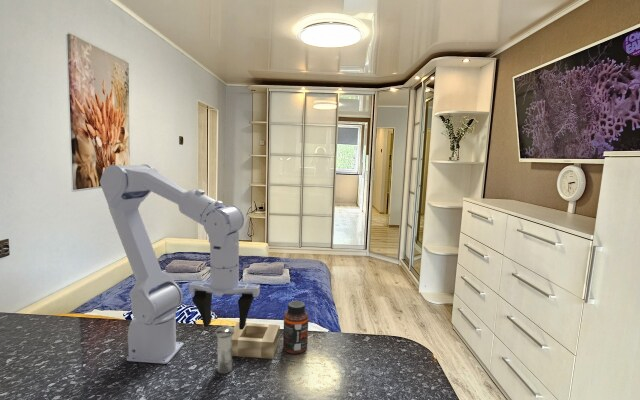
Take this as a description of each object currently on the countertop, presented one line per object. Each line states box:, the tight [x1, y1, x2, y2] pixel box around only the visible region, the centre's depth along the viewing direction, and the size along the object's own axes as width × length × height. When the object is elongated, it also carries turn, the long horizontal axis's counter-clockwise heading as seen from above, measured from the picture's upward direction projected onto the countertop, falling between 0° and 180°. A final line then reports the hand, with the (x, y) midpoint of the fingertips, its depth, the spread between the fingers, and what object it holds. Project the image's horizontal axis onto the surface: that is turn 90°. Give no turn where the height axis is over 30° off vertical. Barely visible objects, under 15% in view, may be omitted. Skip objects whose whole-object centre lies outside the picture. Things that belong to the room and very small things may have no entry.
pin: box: [215, 325, 234, 375], centre depth 72 cm, size 4×4×9 cm
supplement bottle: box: [282, 300, 309, 355], centre depth 81 cm, size 6×6×11 cm
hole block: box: [232, 321, 281, 360], centre depth 81 cm, size 11×8×4 cm
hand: (224, 325), depth 71 cm, fingers open, 7 cm apart
